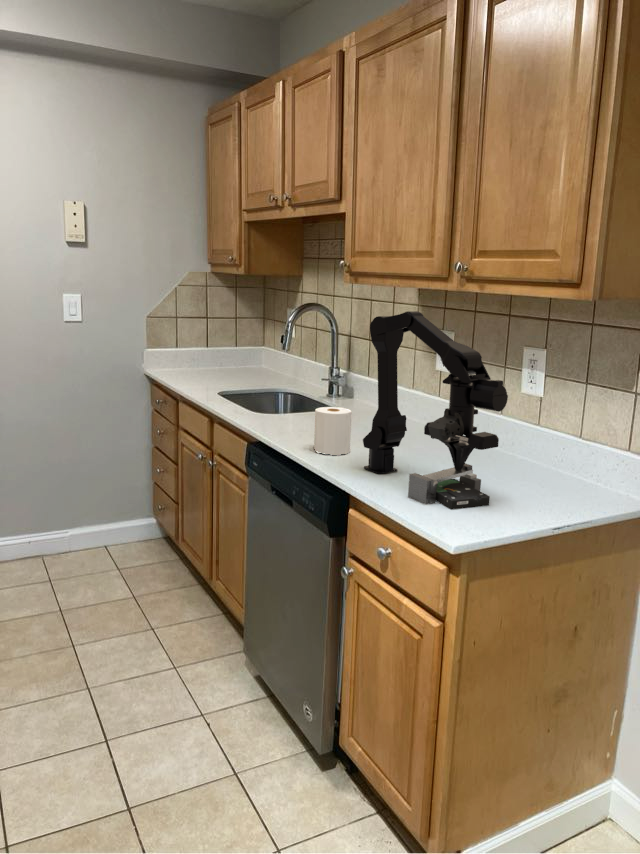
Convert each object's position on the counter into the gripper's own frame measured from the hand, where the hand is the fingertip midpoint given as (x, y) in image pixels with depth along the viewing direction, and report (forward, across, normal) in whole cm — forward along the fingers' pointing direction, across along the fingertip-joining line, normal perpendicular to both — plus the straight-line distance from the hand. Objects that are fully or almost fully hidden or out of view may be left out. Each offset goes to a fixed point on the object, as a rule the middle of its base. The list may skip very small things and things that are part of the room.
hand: (458, 470), depth 166 cm
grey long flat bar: (+1, 0, -3) cm, 3 cm away
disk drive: (+6, +2, -3) cm, 7 cm away
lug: (+6, 0, +4) cm, 7 cm away
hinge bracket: (+5, 0, -12) cm, 13 cm away
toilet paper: (+5, -46, -3) cm, 47 cm away
